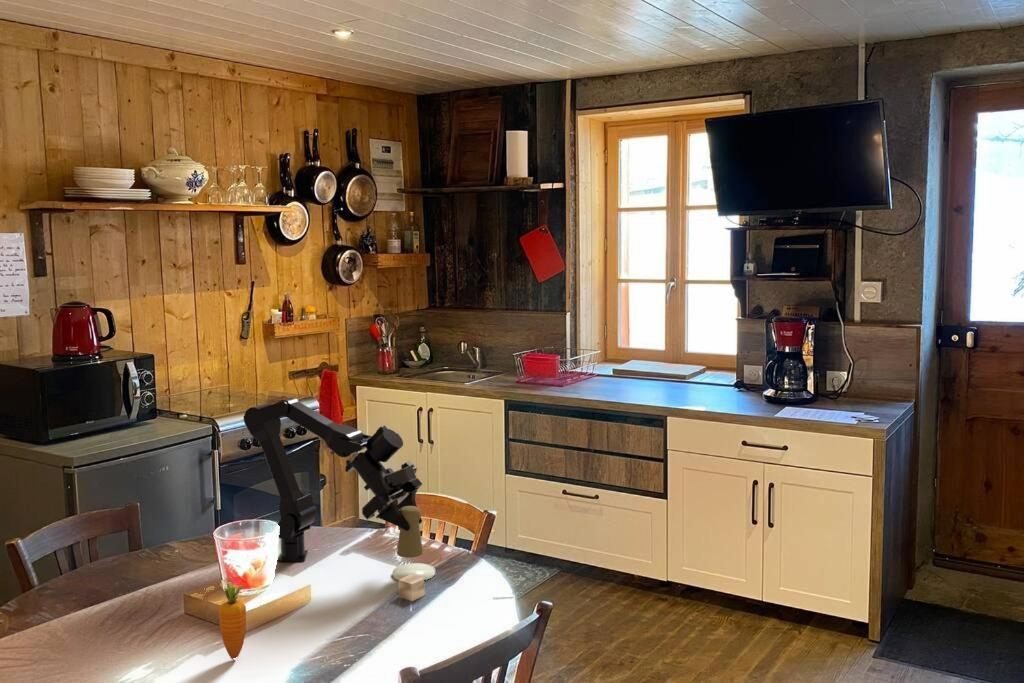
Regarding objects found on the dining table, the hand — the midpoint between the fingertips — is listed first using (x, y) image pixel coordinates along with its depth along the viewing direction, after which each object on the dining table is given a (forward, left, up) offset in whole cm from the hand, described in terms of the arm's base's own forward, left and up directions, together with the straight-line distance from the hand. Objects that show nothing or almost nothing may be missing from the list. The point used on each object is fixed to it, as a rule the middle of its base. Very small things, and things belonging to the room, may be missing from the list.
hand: (415, 526), depth 208 cm
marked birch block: (+11, -1, -12) cm, 17 cm away
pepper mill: (-1, -1, -7) cm, 7 cm away
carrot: (+38, -33, -12) cm, 52 cm away
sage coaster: (-2, 0, -12) cm, 12 cm away
